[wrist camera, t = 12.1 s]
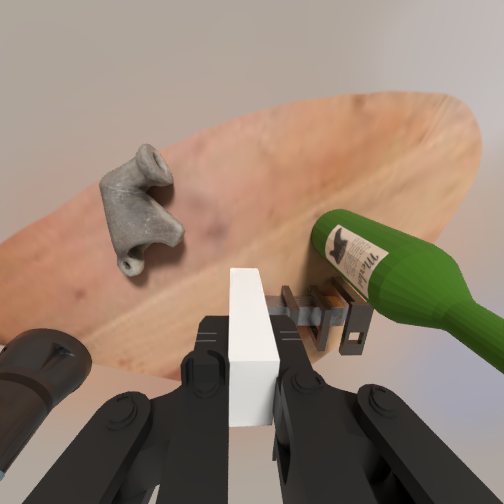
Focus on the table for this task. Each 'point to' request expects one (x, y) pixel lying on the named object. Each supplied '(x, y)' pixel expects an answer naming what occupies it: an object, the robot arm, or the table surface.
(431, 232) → the table surface
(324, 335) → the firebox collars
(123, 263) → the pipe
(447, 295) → the wine bottle
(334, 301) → the grey sharpening stone
